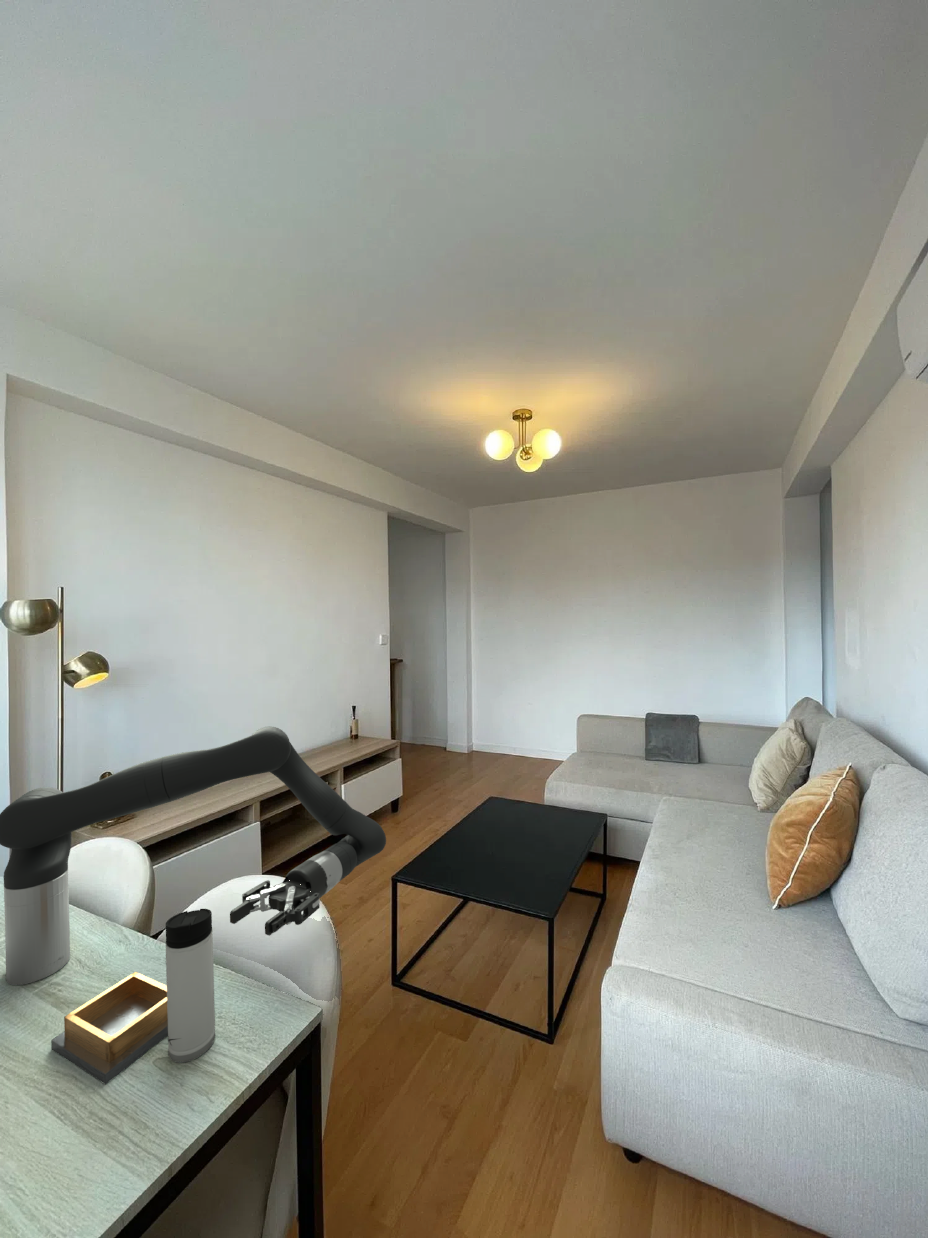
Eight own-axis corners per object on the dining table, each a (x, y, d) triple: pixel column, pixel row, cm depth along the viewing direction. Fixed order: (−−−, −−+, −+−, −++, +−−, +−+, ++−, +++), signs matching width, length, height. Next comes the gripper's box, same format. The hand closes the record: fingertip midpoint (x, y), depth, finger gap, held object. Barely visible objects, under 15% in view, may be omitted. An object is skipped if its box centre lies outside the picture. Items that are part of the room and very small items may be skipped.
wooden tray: (51, 1050, 75) (50, 1020, 75) (139, 991, 87) (138, 965, 87) (105, 1084, 69) (104, 1052, 69) (191, 1016, 81) (191, 988, 81)
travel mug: (161, 1071, 71) (158, 931, 71) (175, 1034, 77) (172, 906, 77) (209, 1059, 73) (206, 923, 73) (219, 1024, 79) (215, 899, 79)
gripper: (287, 853, 103) (219, 894, 88) (341, 865, 97) (278, 911, 82) (288, 889, 103) (220, 936, 88) (343, 904, 97) (279, 956, 82)
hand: (248, 924), depth 85 cm, fingers open, 8 cm apart
